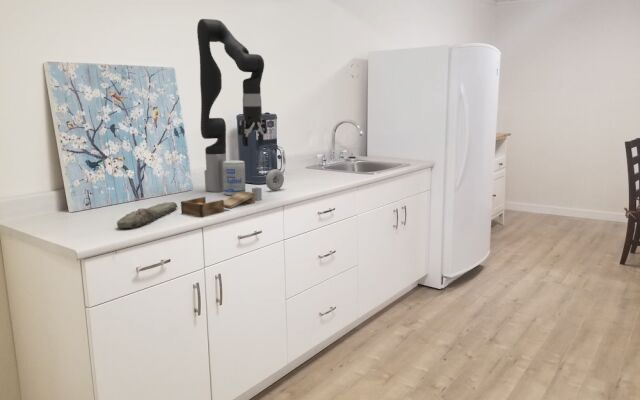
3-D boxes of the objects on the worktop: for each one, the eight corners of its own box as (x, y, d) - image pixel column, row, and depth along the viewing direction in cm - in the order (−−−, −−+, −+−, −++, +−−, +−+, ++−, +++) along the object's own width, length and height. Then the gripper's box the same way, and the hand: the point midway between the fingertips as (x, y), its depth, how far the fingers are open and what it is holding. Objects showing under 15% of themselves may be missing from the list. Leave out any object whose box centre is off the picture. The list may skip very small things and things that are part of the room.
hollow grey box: (256, 198, 218) (256, 187, 217) (261, 199, 216) (261, 187, 215) (252, 199, 215) (251, 188, 214) (257, 200, 214) (256, 188, 213)
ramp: (242, 200, 214) (242, 191, 213) (254, 202, 210) (254, 192, 209) (217, 206, 203) (217, 196, 202) (230, 208, 199) (229, 198, 198)
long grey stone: (184, 212, 200) (161, 213, 202) (183, 199, 200) (159, 199, 201) (137, 229, 166) (109, 230, 168) (135, 213, 166) (107, 214, 167)
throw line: (210, 206, 202) (210, 206, 202) (229, 210, 196) (229, 209, 196) (206, 207, 201) (206, 207, 201) (226, 211, 194) (226, 210, 194)
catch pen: (204, 208, 200) (203, 196, 199) (223, 211, 193) (223, 200, 193) (181, 213, 191) (180, 201, 190) (201, 217, 185) (200, 204, 184)
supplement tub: (227, 196, 223) (225, 163, 220) (221, 193, 231) (220, 160, 228) (248, 195, 227) (247, 161, 224) (242, 191, 235) (241, 159, 232)
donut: (269, 192, 232) (268, 170, 230) (264, 191, 235) (263, 169, 233) (285, 189, 239) (285, 168, 237) (280, 188, 242) (280, 167, 240)
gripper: (246, 105, 199) (247, 147, 203) (271, 105, 211) (271, 144, 214) (232, 105, 204) (234, 146, 207) (257, 104, 215) (258, 143, 218)
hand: (253, 145), depth 211 cm, fingers open, 8 cm apart
